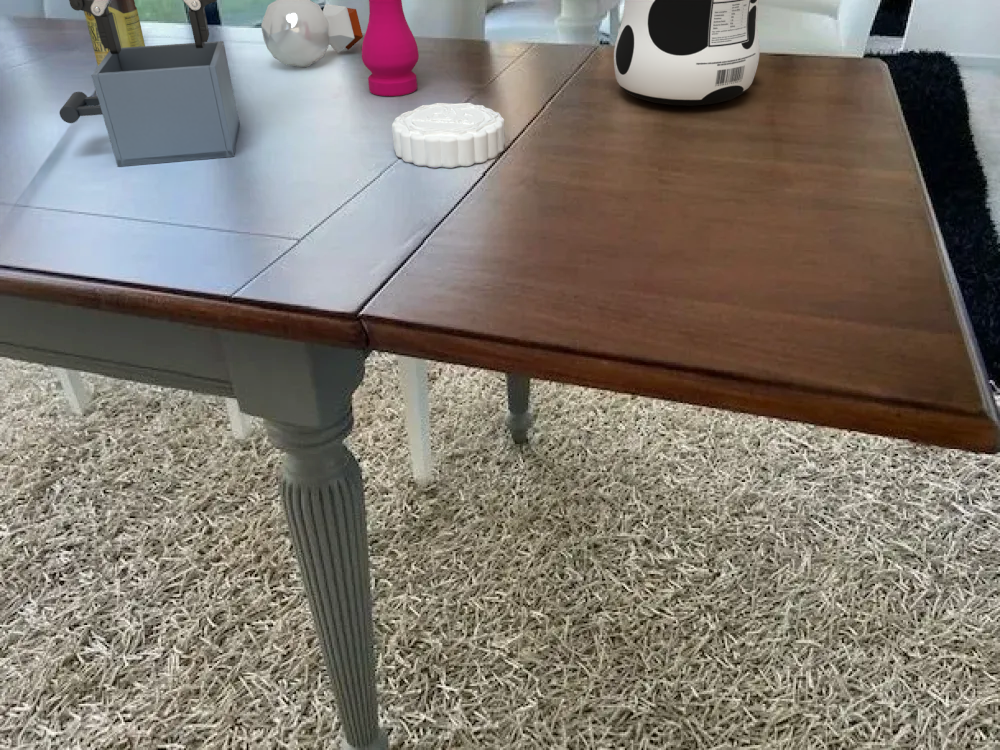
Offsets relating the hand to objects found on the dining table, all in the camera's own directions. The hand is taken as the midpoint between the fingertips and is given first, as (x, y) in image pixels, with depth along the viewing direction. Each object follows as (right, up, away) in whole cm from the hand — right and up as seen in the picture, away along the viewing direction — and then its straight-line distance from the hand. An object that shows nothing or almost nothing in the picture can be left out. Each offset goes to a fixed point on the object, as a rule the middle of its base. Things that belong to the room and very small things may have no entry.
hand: (158, 49), depth 90 cm
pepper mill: (+22, +3, +22) cm, 31 cm away
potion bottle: (+9, +12, +35) cm, 38 cm away
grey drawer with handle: (-2, -9, +6) cm, 11 cm away
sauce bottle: (-13, +3, +23) cm, 27 cm away
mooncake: (+30, -10, +3) cm, 32 cm away
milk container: (+59, +1, +17) cm, 61 cm away
